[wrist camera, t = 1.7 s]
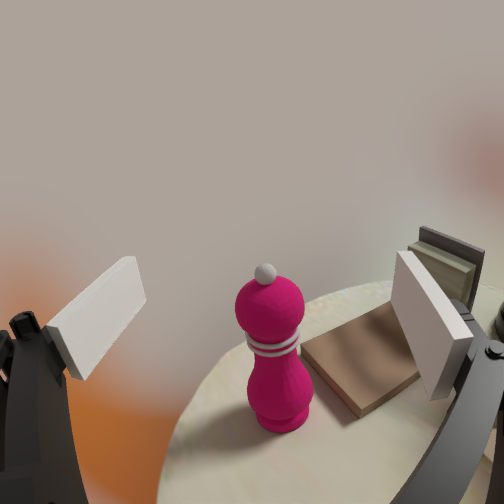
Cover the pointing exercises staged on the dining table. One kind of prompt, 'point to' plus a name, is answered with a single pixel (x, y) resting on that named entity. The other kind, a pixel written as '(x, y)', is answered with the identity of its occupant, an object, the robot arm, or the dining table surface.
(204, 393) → the dining table surface
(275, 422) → the pepper mill
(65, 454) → the robot arm
